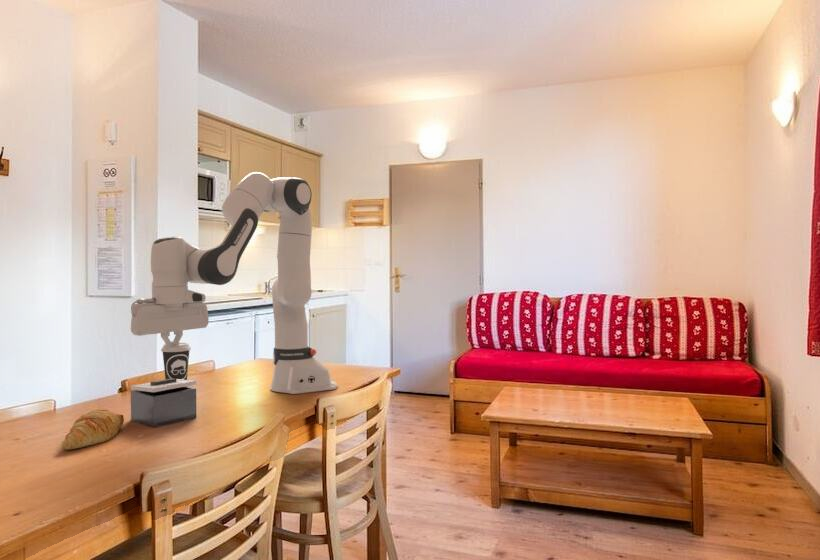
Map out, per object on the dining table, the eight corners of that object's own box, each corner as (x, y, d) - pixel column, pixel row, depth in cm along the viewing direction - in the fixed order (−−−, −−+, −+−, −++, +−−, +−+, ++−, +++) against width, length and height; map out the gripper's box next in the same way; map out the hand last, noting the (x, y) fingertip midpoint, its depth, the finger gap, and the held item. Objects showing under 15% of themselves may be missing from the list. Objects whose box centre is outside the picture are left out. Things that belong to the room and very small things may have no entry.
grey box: (131, 419, 143) (130, 390, 143) (173, 410, 153) (172, 383, 153) (153, 427, 136) (153, 396, 136) (196, 417, 146) (196, 388, 146)
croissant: (76, 469, 117) (92, 438, 117) (37, 447, 117) (52, 416, 117) (130, 437, 138) (144, 410, 138) (96, 419, 139) (110, 392, 138)
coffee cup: (196, 384, 190) (195, 342, 189) (182, 390, 180) (181, 346, 180) (170, 383, 190) (170, 342, 190) (155, 389, 181) (155, 345, 181)
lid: (130, 389, 143) (130, 382, 143) (173, 382, 153) (172, 375, 153) (153, 392, 136) (153, 385, 136) (196, 384, 146) (195, 377, 146)
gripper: (137, 299, 132) (139, 355, 132) (210, 294, 148) (212, 344, 148) (124, 299, 135) (127, 353, 136) (198, 294, 152) (199, 342, 152)
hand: (172, 348), depth 142 cm, fingers closed
